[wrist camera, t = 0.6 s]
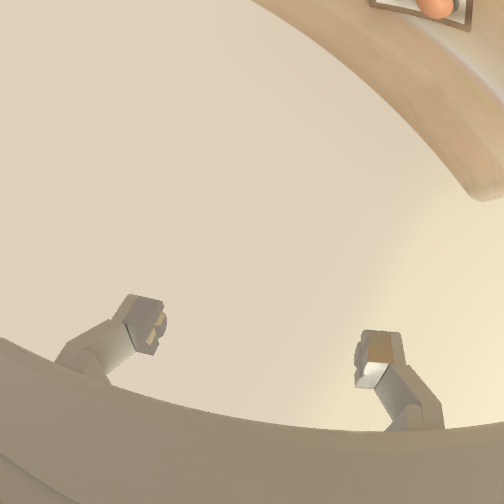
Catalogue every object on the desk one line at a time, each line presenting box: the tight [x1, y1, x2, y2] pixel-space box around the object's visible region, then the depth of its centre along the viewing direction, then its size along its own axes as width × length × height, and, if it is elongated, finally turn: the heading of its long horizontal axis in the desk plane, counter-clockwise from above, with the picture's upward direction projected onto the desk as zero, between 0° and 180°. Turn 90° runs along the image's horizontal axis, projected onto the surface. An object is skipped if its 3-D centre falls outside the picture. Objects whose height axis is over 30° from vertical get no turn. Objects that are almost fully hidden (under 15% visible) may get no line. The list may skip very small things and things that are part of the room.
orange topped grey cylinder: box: [416, 0, 459, 19], centre depth 23 cm, size 4×4×13 cm
